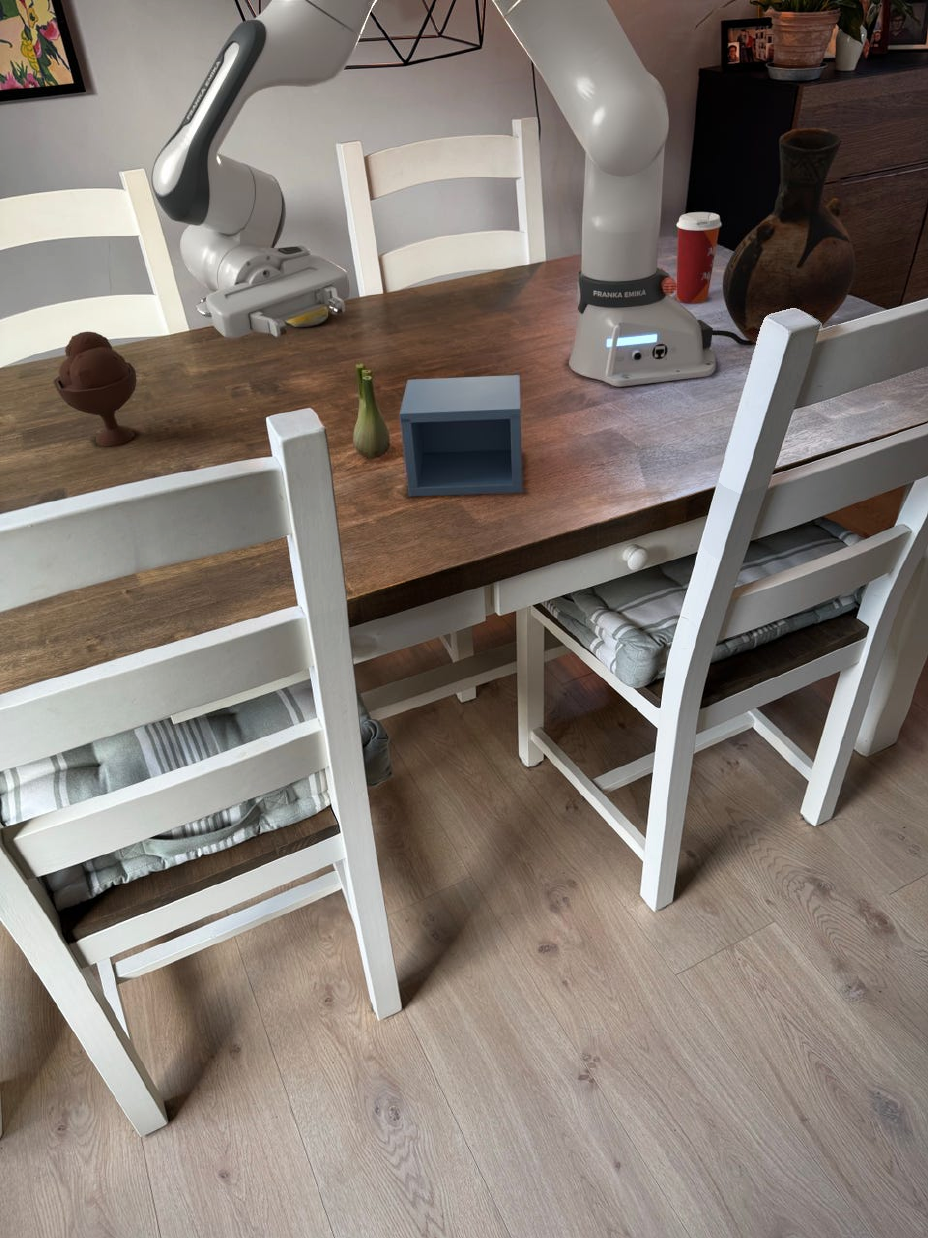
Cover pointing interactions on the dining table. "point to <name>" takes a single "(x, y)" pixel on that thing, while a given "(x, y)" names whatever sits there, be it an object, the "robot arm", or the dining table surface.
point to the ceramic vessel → (793, 243)
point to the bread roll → (309, 318)
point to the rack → (462, 435)
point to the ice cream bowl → (97, 383)
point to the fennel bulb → (369, 419)
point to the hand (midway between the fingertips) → (311, 319)
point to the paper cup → (696, 255)
